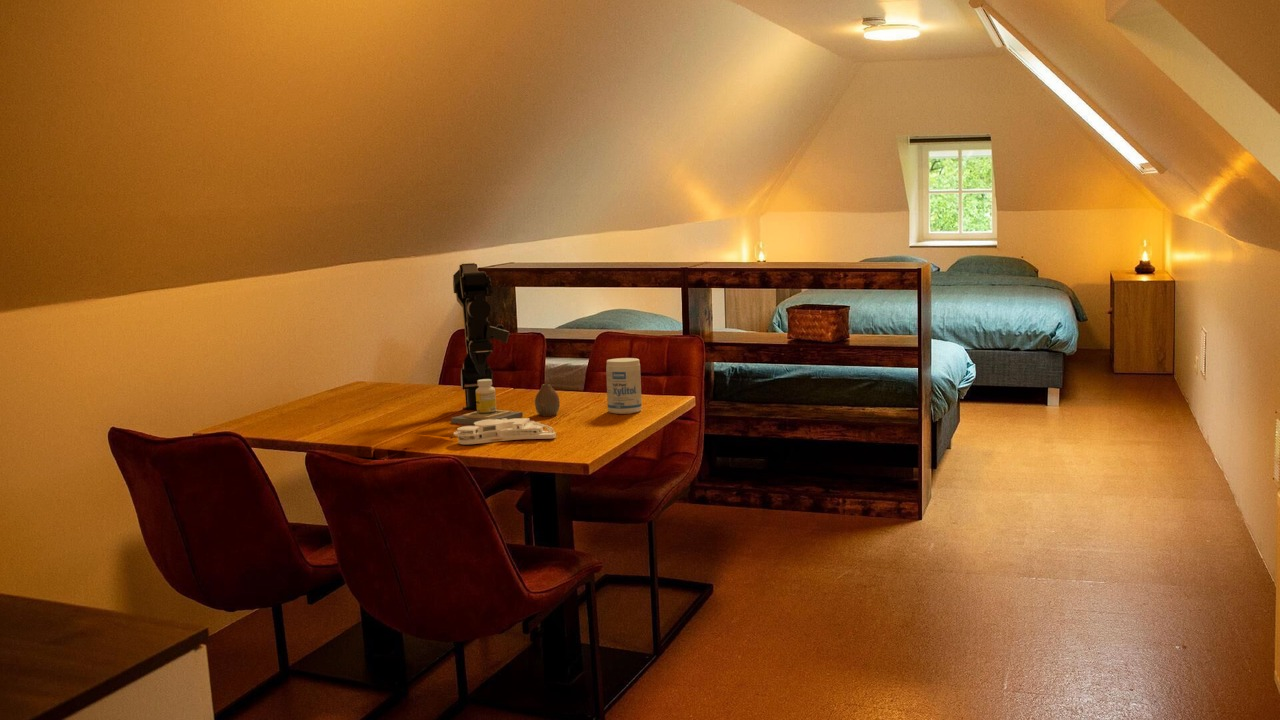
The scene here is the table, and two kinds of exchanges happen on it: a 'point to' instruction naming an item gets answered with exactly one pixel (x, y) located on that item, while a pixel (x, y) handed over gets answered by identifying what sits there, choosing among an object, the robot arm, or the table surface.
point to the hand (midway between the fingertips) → (480, 374)
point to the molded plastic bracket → (503, 431)
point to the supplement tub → (623, 385)
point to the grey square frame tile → (485, 417)
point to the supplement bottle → (485, 398)
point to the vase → (547, 401)
